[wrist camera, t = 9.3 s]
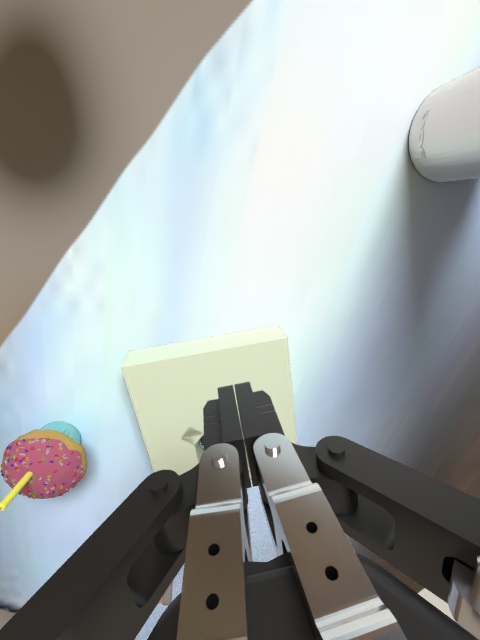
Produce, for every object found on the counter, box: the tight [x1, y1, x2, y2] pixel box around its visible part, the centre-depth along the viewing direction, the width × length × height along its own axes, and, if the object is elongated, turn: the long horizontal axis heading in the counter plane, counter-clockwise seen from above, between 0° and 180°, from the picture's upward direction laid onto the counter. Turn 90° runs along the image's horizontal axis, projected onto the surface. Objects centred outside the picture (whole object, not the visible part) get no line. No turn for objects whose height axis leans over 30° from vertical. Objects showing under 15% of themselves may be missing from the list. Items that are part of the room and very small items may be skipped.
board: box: [121, 325, 297, 605], centre depth 32 cm, size 20×19×16 cm
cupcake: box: [0, 422, 86, 511], centre depth 33 cm, size 9×8×12 cm
